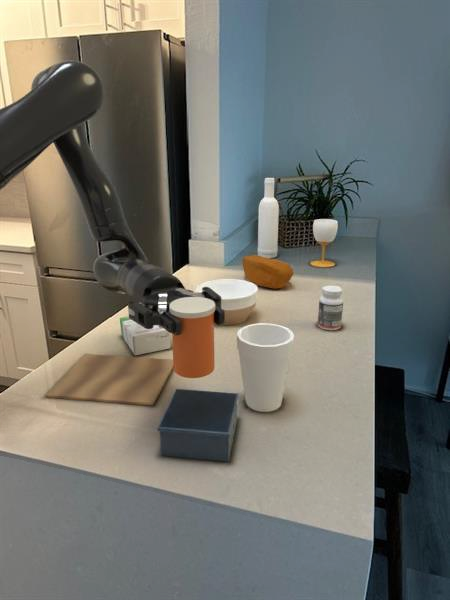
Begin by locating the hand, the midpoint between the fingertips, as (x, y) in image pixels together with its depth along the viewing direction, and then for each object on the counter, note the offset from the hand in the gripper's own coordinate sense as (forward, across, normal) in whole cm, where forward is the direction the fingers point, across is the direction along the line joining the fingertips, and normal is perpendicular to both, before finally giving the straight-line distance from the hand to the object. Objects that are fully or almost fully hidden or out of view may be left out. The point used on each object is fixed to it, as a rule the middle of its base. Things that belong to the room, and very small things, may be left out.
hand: (200, 323), depth 59 cm
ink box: (-44, +6, +17) cm, 48 cm away
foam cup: (-4, +14, +20) cm, 25 cm away
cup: (-65, +86, +20) cm, 110 cm away
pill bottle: (-22, +48, +20) cm, 56 cm away
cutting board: (-26, -5, +20) cm, 33 cm away
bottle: (-87, +77, +20) cm, 117 cm away
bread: (-59, +56, +20) cm, 84 cm away
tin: (-2, 0, +20) cm, 20 cm away
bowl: (-41, +30, +20) cm, 54 cm away
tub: (-2, 0, +8) cm, 8 cm away
